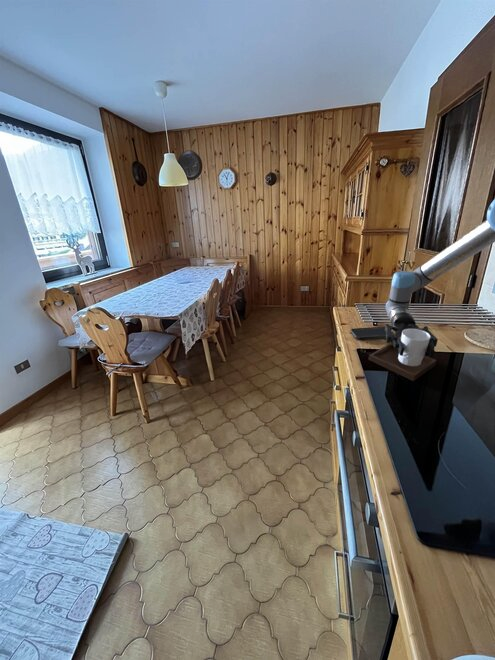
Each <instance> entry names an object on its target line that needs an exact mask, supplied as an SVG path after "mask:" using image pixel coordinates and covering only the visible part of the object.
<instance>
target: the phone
mask: <svg viewBox="0 0 495 660" xmlns="http://www.w3.org/2000/svg"><path fill="white" fill-rule="evenodd" d="M384 330H385V326H372V327H371V326H370V327H356V328H351V329H350V334H351V335H352V336H353V337H354V339H355V340H358V341H365V340H377V339H378V340H380V339H386V332H385V331H384ZM394 335H395V333H394V331H391V337H394Z"/></svg>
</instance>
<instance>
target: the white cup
mask: <svg viewBox="0 0 495 660" xmlns="http://www.w3.org/2000/svg"><path fill="white" fill-rule="evenodd" d="M430 338H431V336H430V335H429V334H428V333H427V332H425V331H422V330H419V329H405V330H403V331H402V335H401V337H400V339H401V341H402V344H403V346H404V352H403V356H400V354H399V356H398V359H399V361H400V362H401V363H403V364H405V365H408V366H418V365H420V364H421V362H422V359H423V357H424V355H425V356H426V353H427V352H426V349H427V346H428V343H429V341H430Z"/></svg>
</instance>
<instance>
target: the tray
mask: <svg viewBox="0 0 495 660" xmlns="http://www.w3.org/2000/svg"><path fill="white" fill-rule="evenodd" d="M398 356H399V352H398V349H397V348H395V347H394V346H392V343H391V342H390V343H387V344H386V345H384V346H383V347H381V348H379V349H378V350H377V349H376V351H374V352H372V353H370V354H369V355H368V361H370V362H372V363H374V364H377V365H379V366H381V367H383V368H385V369H386V370H389V371H391V372H392V373H395V374H397V375H399V376H402V377H404V378H405V379H408V380H409V381H412V382H415V381H416V380H418V379H419V378H420V377H422V376H423V375H424V374H426V373H427V372H429V370H432V368H434V367H435V366H436V365H437V359H435V358H434V357H433V358H430V357H429V356H428V355H426V354H425V355H424V357H423V359H422V362H421V364H420V365H418V366H408V365H405V364H403V363H401V362H400V361H399V359H398Z"/></svg>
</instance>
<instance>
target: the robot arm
mask: <svg viewBox="0 0 495 660" xmlns="http://www.w3.org/2000/svg"><path fill="white" fill-rule="evenodd" d="M494 243H495V198H494V199H493V200H492V202H491V203H490V205H489V206H488V209H487V212H486V219H485V220H484V221H483V222H481V223H480V224H478V225H477V226H475V227H474V228H473V229H471V230H469V231H468V232H466V233H465V234H464V235H462V236H461V237H460V238H458V239H457V240H456V241H454V242H453V243H451V244H450V245H448V246H447V247H445V248H444V249H443V250H441V251H440V252H439V253H437V254H435V255H434V256H433V257H431V258H430V259H428V260H427V261H426V262H424V263H422V264H421V265H420V266H418V267H417V268H415V269H414V270H413V271H409V270H400V271H396V272H395V273H394V274H393V276H392V280H391V285H390V292H389V298H388V300H387V302H386V304H385V312H386V315H387V317H388V320H389V322H390V324H391V325H390V324H389V323H385V325H384V327H385V330H384V331H385V332H386V338H385V343H387V344H390V343H392V346H394V347H395V348H397V349H398V352H399V354H400V356H403V352H404V346H403V344H402V341H401V335H402V331H403V330H405V329H419V330H422V331H425V332H427V333H428V334H429V335H430V336H431V338H430V341H429V343H428V346H427V349H426V352H425V353H426V354H427V356H428V357H430V358H433V359H434V355H435V351H436V349H435V348H436V347H437V344H438V341H439V339H438V338H437V337H436V336H435V335H434V333H432V332H431V331H430V329H429V327H428V326H423V327H420V326H419V325H417V324H416V320H415V318H414V317H413V315H412V314H411V311H410V310H409V309H410V303H411V299H412V296H413V293H415V292H417V291H418V290H420V289H422V288H425V287H426V286H428V285H429V284H430V283H432V282H433V281H435V280H437V279H438V278H440V277H441V276H442V275H443V276H444V274H446V273H447V272H449V271H451V270H452V269H454V268H455V267H457V266H459V265H460V264H462V263H463V262H465V261H467V260H469V259H470V258H471V257H473V256H474V255H477V254H478V253H480V252H481V251H482V250H484V249H486V248H488V247H489V246H491V245H492V244H494ZM391 332H395V333H394V337H391Z"/></svg>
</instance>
